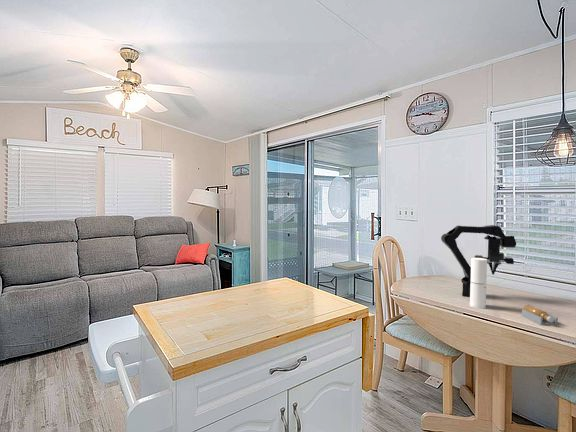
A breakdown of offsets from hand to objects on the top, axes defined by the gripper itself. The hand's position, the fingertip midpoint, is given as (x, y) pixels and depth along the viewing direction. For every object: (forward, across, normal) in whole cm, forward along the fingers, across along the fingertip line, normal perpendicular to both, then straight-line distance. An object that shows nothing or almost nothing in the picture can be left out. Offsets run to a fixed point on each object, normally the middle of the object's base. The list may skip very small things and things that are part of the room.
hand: (493, 274), depth 186 cm
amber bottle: (+10, +13, -27) cm, 31 cm away
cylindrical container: (+13, -8, -23) cm, 28 cm away
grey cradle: (+13, +16, -32) cm, 39 cm away
